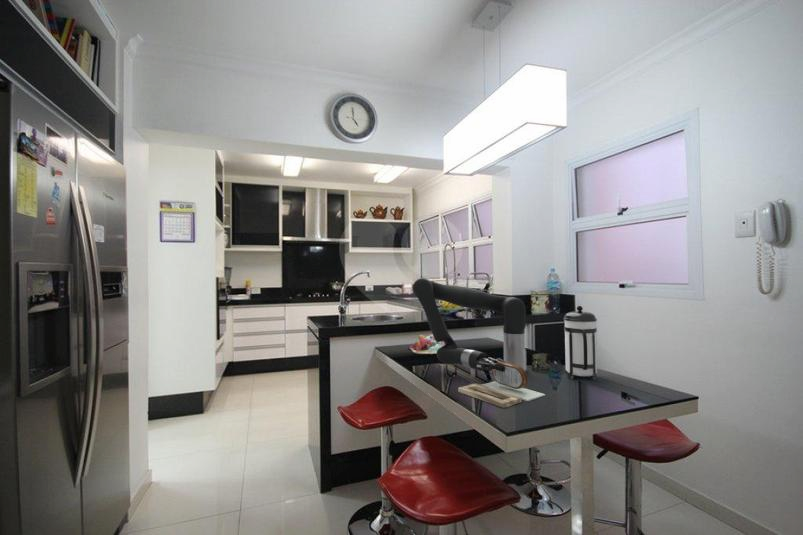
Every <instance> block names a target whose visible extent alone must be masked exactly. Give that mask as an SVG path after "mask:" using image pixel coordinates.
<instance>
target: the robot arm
mask: <svg viewBox="0 0 803 535" xmlns="http://www.w3.org/2000/svg"><path fill="white" fill-rule="evenodd" d="M412 292H413V294H414V296H416V297H417V299H418V301H419V302H420V305H421V307H422V309H423V311H424V314H425V316H426V320H427V322H428V325H429V329H430V330H431V333H432V334H433V336H434V339H435V341H437V342H441V341H443V342H444V343H445V345H444V346H442V347H441V348H439V349H438V350H437V354H436V357H437V359H438V360H439V361H440V362H441V363H443V364H450V365H452V364H457V365H462V366H464V367H466V368H470V369H473V370H475V371H479V372H481V371H489V372H490V371H492V370H498V371H501V372H505V366H503V365H499V364H496V363H499V362H506V363H510V364H514V365H517V366H520V367H522V368H523V369H524V370H525V372H526V371H527V349H526V342H525V340H526V338H525V332H526V331H525V329H526V325H527V322H526V319H527V316H526V314H527V311H526V305H525V303H524V300H522V299H520V298H518V297H513V296H501V295H496V294H491V293H488V292H485V291H482V290H480V289H477V288H476V289H475V288H471V287H467V286H461V285H451V284H443V283H439V282H435V281H432V280H429V279H427V278H425V277H421V278H418V279H416V280H415V281H414V282H413V284H412ZM436 300H440V301H443V302H446V303H449V304H451V305H455V306H457V307H462V308H466V309H472V310H481V311H482V310H483V311H492V312H494V313H495V312H496V313H499V314H501V315H504V324H503V327H502V328H503V329H502V330H503V333H502V334H503V336H502V337H503V359H502V358H500V357H497V358H493V357H488V355H487V353H485V352H483V351H479V350H475V349H467V348H463V347H459V346H458V344H457V343H456V342H455V341H454V340H455V339H453V337H452V336H451V335H450V332H449V331H448V328H447V325H446V323H445V321H444V318H443V317H442V314H441V312H440V310H439V307H438V305H437V302H436ZM432 334H431V335H432Z"/></svg>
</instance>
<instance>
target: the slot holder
mask: <svg viewBox="0 0 803 535" xmlns="http://www.w3.org/2000/svg"><path fill="white" fill-rule="evenodd" d="M457 390H458V392H459V393H461V394H463V395H467V396H469V397H471V398H472V397H473V398H475V399H477V400H481V401H483V402H484V403H485V402H486V403H488V404H492V405H493V406H497V407H499V408H503V409H505V408H509V407H511V406H514V405H517V404H520V403H522V398H521V397H518V396H515V395H511V394H508V393H505V392H502V391H499V390H496V389H493V388H489V387H486V386H483V385H482V384H480V383H476V382H475V383H471V384H468V385H464V386H460V387H458V389H457Z"/></svg>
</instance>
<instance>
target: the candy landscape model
mask: <svg viewBox="0 0 803 535" xmlns="http://www.w3.org/2000/svg"><path fill="white" fill-rule="evenodd" d="M417 338H418V340H415V343H414V344H411V345H410V346H408V348H409V349H410V350H411V351H412V352H413V353H414V354H419V355H429V354H430V355H433V354H436V355H437V350H438V349H439V348H441V347H442V346H444V345H445V343H444V342H443V341H441V342H437V341H435V339H434V336H433V334H429V335H428V336H427V335H422V334H419V335H418V336H417Z"/></svg>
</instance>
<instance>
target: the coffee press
mask: <svg viewBox="0 0 803 535" xmlns="http://www.w3.org/2000/svg"><path fill="white" fill-rule="evenodd" d="M576 309H577V311H569V312H567V313H565V315H564V317H563V321H564V327H563V331H564V346H565V347H564V352H565V353H564V355H565V357H564V358H565V370H564V371H565V373H566V374H568V376H567V378H568V379H571V380H573V379H574V377H576V376H577V377H590V378H591V379H592V380H593V381H595V382H596V381H599V376H598V375H597V373H598V355H597V331H598V330H597V329H598V328H597V321H598V318H596V315H595V314H594V313H592V312H588V311H583V307H582V306H581V305H578V306H577V307H576Z"/></svg>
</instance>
